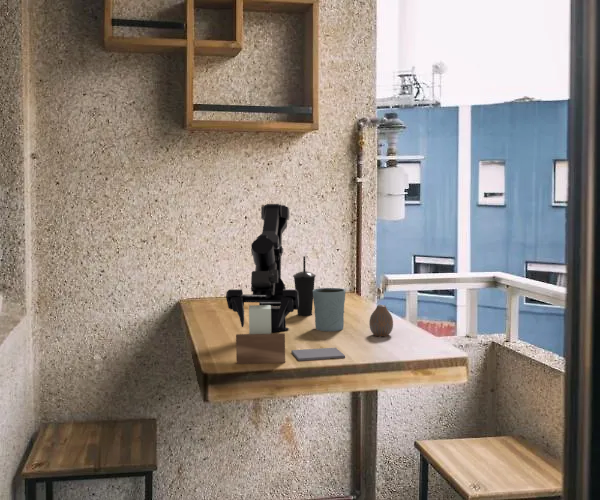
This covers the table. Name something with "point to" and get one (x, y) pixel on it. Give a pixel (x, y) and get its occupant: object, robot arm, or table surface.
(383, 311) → the vase
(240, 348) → the walnut screen
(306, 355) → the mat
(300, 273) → the drinking cup
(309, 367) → the table surface
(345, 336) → the table surface
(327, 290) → the blue-grey pot
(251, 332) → the pale green block
